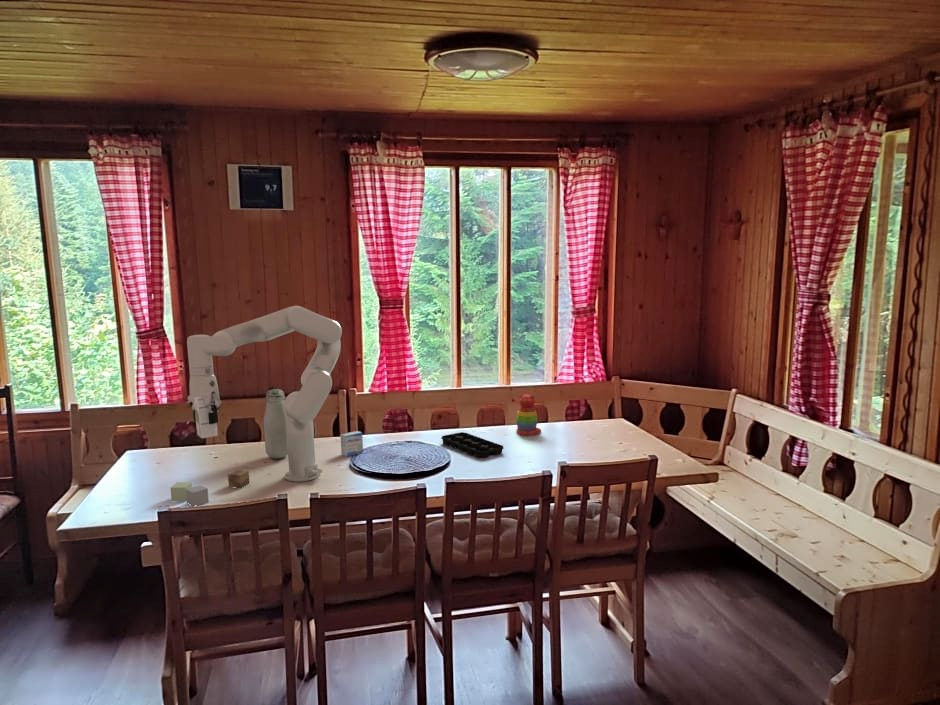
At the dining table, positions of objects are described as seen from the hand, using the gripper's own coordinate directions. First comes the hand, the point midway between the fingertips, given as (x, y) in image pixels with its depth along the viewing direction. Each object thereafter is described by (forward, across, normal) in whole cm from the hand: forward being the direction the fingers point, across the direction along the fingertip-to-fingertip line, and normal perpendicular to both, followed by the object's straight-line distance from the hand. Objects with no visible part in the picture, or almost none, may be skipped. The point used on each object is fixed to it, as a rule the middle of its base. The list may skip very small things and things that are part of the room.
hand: (206, 421), depth 229 cm
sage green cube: (+25, +2, +10) cm, 27 cm away
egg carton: (+26, -56, -84) cm, 104 cm away
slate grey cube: (+25, -6, +10) cm, 27 cm away
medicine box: (+25, -16, -56) cm, 63 cm away
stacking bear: (+26, -66, -116) cm, 136 cm away
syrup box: (+5, 0, 0) cm, 5 cm away
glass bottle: (+25, +7, -38) cm, 46 cm away
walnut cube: (+25, -5, -8) cm, 26 cm away
